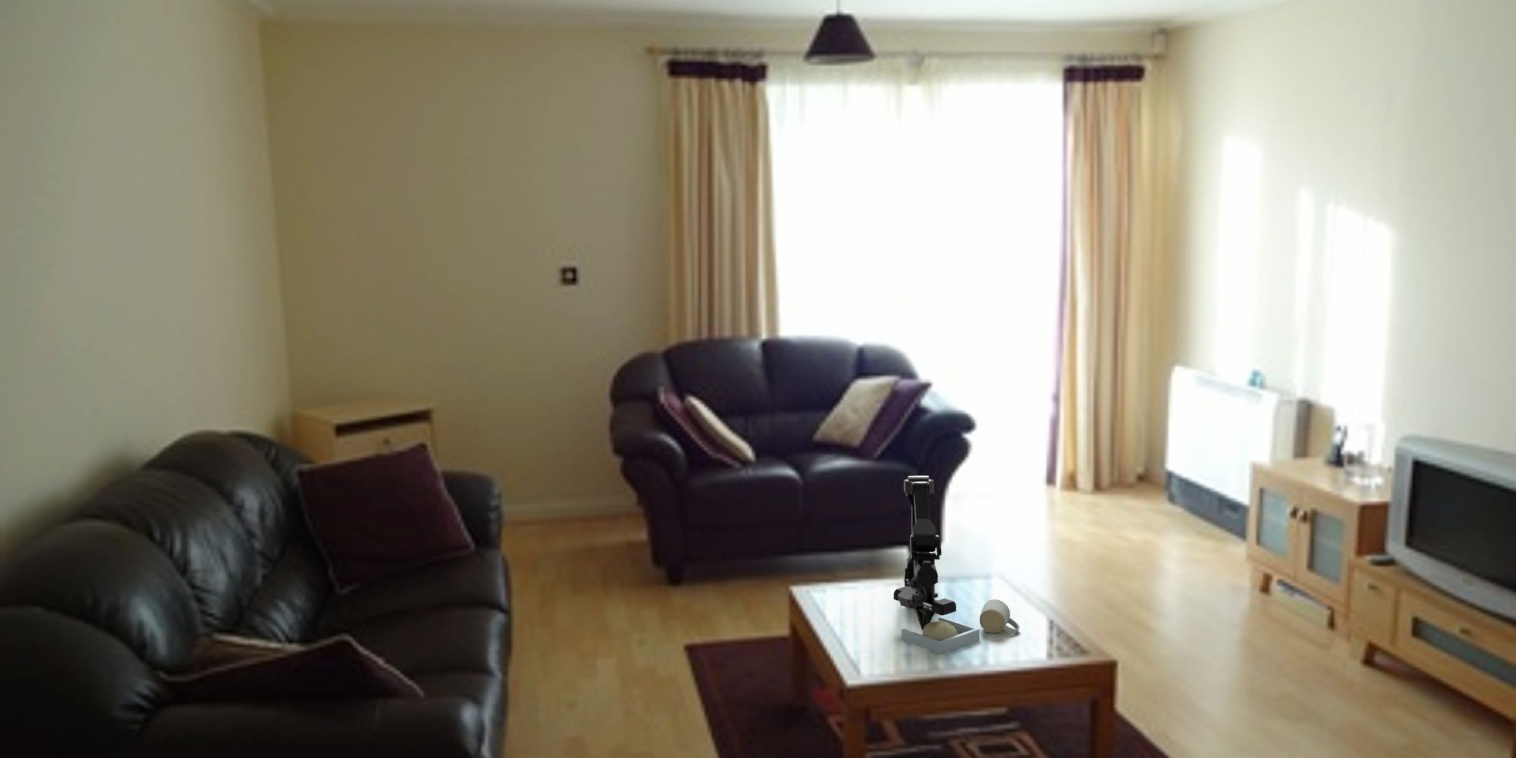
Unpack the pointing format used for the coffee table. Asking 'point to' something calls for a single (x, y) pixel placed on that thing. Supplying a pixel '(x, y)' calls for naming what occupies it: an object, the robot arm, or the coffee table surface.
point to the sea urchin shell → (939, 630)
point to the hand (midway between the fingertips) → (924, 630)
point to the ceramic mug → (997, 617)
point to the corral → (965, 637)
